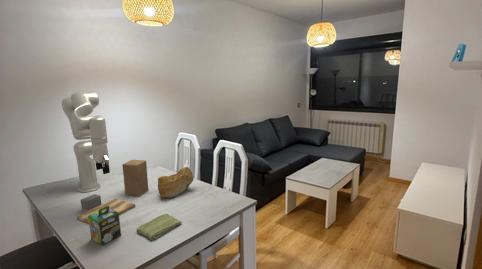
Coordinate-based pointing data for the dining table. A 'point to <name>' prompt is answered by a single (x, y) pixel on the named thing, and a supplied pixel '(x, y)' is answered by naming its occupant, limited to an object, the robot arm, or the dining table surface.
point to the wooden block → (135, 177)
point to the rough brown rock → (175, 183)
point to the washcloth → (158, 226)
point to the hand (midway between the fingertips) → (102, 171)
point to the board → (113, 204)
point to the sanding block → (91, 202)
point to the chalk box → (104, 225)
